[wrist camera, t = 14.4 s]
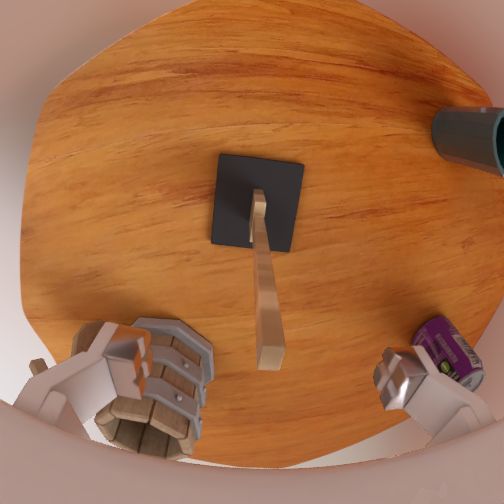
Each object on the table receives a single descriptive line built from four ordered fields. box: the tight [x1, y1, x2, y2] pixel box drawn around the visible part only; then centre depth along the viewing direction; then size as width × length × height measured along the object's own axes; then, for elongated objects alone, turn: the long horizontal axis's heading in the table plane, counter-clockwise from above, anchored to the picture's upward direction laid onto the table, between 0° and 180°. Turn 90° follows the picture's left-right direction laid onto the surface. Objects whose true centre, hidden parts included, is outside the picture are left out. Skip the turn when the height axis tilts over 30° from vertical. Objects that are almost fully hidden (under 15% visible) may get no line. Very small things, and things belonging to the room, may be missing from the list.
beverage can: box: [412, 317, 486, 393], centre depth 30 cm, size 7×7×12 cm
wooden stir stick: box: [249, 189, 286, 371], centre depth 18 cm, size 3×1×20 cm, turn 173°
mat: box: [211, 154, 304, 252], centre depth 28 cm, size 9×8×1 cm
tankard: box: [29, 317, 215, 461], centre depth 28 cm, size 20×13×15 cm, turn 44°
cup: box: [432, 106, 504, 178], centre depth 20 cm, size 7×7×10 cm
